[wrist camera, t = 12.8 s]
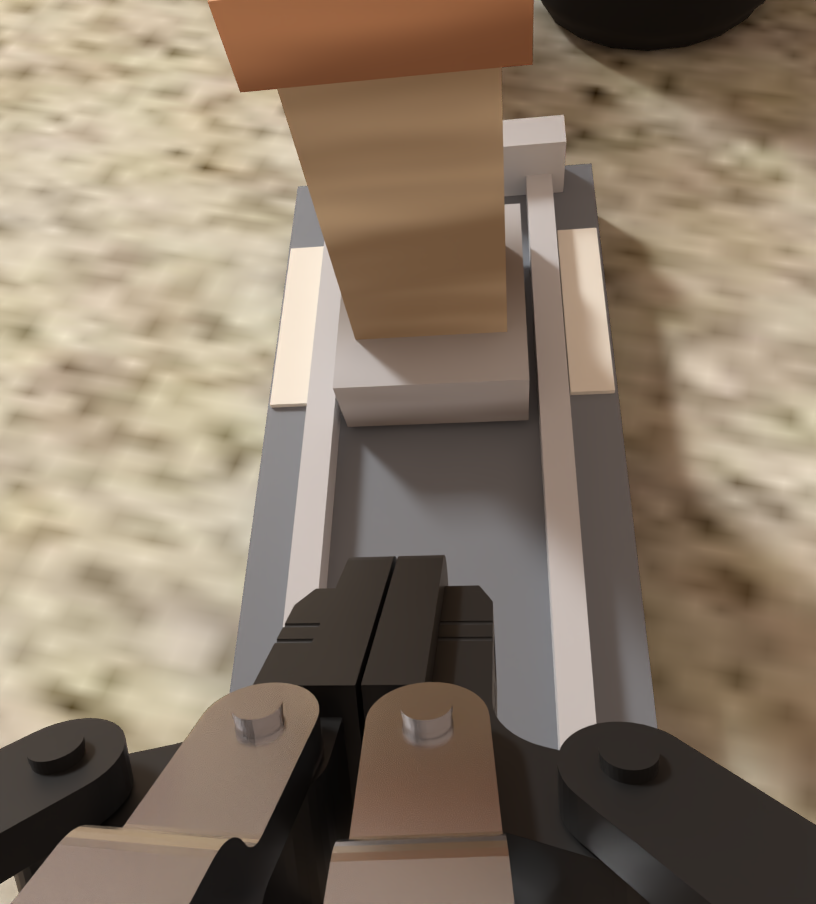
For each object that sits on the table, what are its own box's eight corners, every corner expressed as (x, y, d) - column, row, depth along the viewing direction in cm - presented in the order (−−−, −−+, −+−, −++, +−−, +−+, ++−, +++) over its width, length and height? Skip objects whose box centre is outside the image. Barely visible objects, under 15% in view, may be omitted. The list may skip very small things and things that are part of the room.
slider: (528, 419, 21) (537, 6, 11) (347, 426, 21) (197, 42, 11) (519, 252, 24) (520, -200, 14) (360, 262, 24) (249, -162, 14)
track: (708, 1329, 14) (771, 1482, 11) (186, 1274, 15) (88, 1395, 12) (586, 208, 27) (596, 111, 24) (311, 228, 28) (282, 139, 25)
